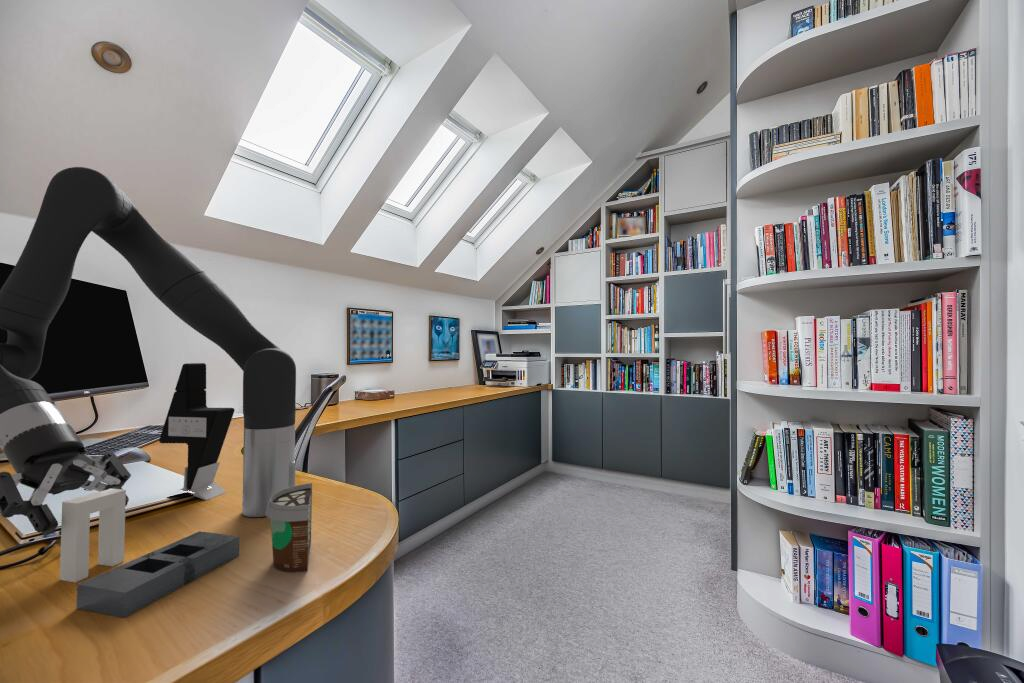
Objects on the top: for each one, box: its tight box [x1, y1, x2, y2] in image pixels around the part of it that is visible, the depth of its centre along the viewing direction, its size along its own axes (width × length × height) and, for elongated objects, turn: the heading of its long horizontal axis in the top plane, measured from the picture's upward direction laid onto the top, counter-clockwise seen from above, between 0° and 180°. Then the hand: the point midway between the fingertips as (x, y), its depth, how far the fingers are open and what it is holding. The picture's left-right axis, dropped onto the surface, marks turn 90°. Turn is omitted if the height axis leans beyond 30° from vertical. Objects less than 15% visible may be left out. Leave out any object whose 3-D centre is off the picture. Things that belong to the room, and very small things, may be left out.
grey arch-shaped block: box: [59, 488, 127, 583], centre depth 61 cm, size 6×3×11 cm, turn 167°
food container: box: [265, 482, 313, 573], centre depth 64 cm, size 12×6×10 cm, turn 23°
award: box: [158, 362, 235, 501], centre depth 95 cm, size 15×5×30 cm, turn 81°
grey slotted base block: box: [76, 531, 240, 618], centre depth 59 cm, size 16×8×3 cm, turn 167°
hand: (89, 518), depth 62 cm, fingers open, 8 cm apart
